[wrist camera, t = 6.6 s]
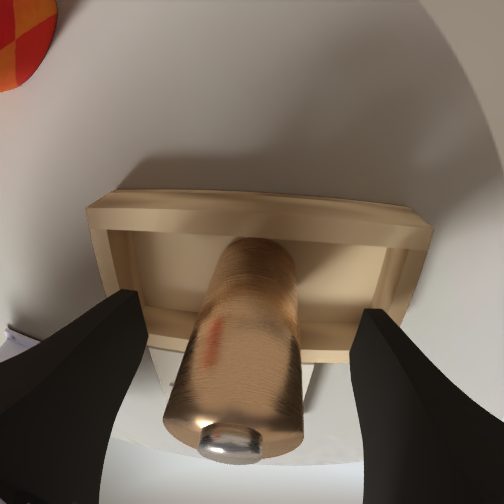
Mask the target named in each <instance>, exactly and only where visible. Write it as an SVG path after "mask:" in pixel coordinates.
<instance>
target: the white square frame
mask: <svg viewBox="0 0 504 504" xmlns="http://www.w3.org/2000/svg"><path fill="white" fill-rule="evenodd" d="M149 351H150V354H151V357H152V361H153V364H154V367H155V370H156V373H157V376H158V379H159V382H160V385H161V387H162V390H163V393H164V396H165V398H166V401H167V403H168V400H169V397H170V394H171V391H172V388H173V385H174V382H175V379H176V376H177V373H178V370H179V368H180V365H181V362H182V359H183V356H184V353H185V352H184V351H178V350H171V349H165V348H159V347H153V346H149ZM313 368H314V363H313V362H302V386H303V401H304V397H305V394H306V391H307V388H308V385H309V382H310V378H311V375H312V372H313Z"/></svg>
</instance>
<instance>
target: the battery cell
mask: <svg viewBox="0 0 504 504" xmlns="http://www.w3.org/2000/svg"><path fill="white" fill-rule="evenodd" d="M163 423H164V426H165V427H166V429H167V430H168V431H169V433H170V434H172V435H173V436H174V437H175V438H176V439H178V440H179V441H181V442H183V443H184V444H186V445H188V446H190V447H192V448H195V449H197V450H198V452H199V453H200V454H201V455H202V456H204V457H206V458H208V459H210V460H213V461H216V462H220V463H226V464H233V465H246V464H253V463H256V462H259V461H260V460H261V459H264V458H271V457H276V456H280V455H283V454H286V453H288V452H290V451H292V450H294V449H296V448H297V447H298V446H299V445H300V444H301V443H302V441H303V438H304V419H303V386H302V362H301V343H300V326H299V310H298V296H297V283H296V271H295V265H294V262H293V259H292V257H291V256H290V254H289V253H288V252H287V251H286V250H285V249H284V248H283V247H282V246H280V245H279V244H277V243H276V242H274V241H271V240H269V239H265V238H254V237H250V238H244V239H240V240H238V241H235V242H234V243H232V244H230V245H229V246H228V247H226V248H225V249H224V251H223V252H222V253H221V255H220V257H219V259H218V262H217V264H216V267H215V270H214V272H213V275H212V278H211V280H210V283H209V286H208V289H207V291H206V294H205V297H204V299H203V302H202V305H201V308H200V311H199V313H198V316H197V319H196V322H195V324H194V327H193V330H192V333H191V336H190V339H189V341H188V344H187V347H186V350H185V353H184V356H183V359H182V362H181V365H180V368H179V370H178V373H177V376H176V379H175V382H174V385H173V388H172V391H171V394H170V397H169V400H168V403H167V406H166V409H165V412H164V416H163Z"/></svg>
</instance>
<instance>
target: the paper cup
mask: <svg viewBox="0 0 504 504" xmlns="http://www.w3.org/2000/svg"><path fill="white" fill-rule="evenodd" d="M56 23H57V4H56V1H55V0H0V92H4V91H7V90H11V89H14V88H17V87H19V86H20V85H22V84H23V83H25V82H26V81H27V80H28V79H29V78H30V77H31V76H32V74H33V73H34V72H35V71H36V69H37V68H38V67H39V65H40V63H41V62H42V60H43V58H44V56H45V55H46V53H47V50H48V48H49V46H50V44H51V41H52V38H53V35H54V32H55V28H56Z"/></svg>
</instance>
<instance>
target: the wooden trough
mask: <svg viewBox="0 0 504 504" xmlns="http://www.w3.org/2000/svg"><path fill="white" fill-rule="evenodd" d="M86 213H87V219H88V224H89V229H90V234H91V239H92V244H93V248H94V252H95V257H96V261H97V265H98V269H99V273H100V276H101V280H102V284H103V287H104V291H105V294H106V298H108V297H109V296H111V295H112V294H114V293H115V292H117V291H119V290H121V289H128V290H135V291H138V295H139V299H140V304H141V308H142V312H143V316H144V320H145V324H146V327H147V331H148V335H149V337H148V340H147V344H146V345H148V346H153V347H159V348H165V349H171V350H178V351H184V352H185V350H186V347H187V344H188V341H189V339H190V336H191V333H192V330H193V327H194V324H195V322H196V319H197V316H198V313H199V311H200V308H201V305H202V302H203V299H204V297H205V294H206V291H207V289H208V286H209V283H210V280H211V278H212V275H213V272H214V270H215V267H216V264H217V262H218V259H219V257H220V255H221V253H222V252H223V251H224V249H225V248H226V247H228V246H229V245H230V244H232V243H234V242H235V241H238V240H240V239H244V238H250V237H254V238H265V239H269V240H271V241H274V242H276V243H277V244H279V245H280V246H282V247H283V248H284V249H285V250H286V251H287V252H288V253H289V254H290V256H291V257H292V259H293V262H294V265H295V271H296V283H297V296H298V310H299V326H300V343H301V362H313V363H350V360H349V351H350V349H351V346H352V343H353V341H354V338H355V335H356V332H357V329H358V326H359V323H360V320H361V317H362V314H363V311H364V308H374V309H383V310H384V311H385V312H386V313H387V314H388V315H389V316H390V317H391V318H392V320H393V321H394V322H395V323H396V324H397V325H398V326H399V327H400V325H401V323H402V320H403V318H404V316H405V313H406V311H407V308H408V306H409V303H410V301H411V298H412V295H413V293H414V290H415V287H416V285H417V282H418V279H419V276H420V273H421V270H422V267H423V264H424V261H425V258H426V255H427V252H428V249H429V245H430V242H431V238H432V235H433V231H434V229H433V228H432V227H431V226H430V225H428V224H427V223H426V222H425V221H424V220H423V219H422V218H421V217H420V216H419V215H418V214H416V213H415V212H414V211H413V210H412V209H411V208H410V207H404V206H397V205H390V204H382V203H374V202H365V201H356V200H347V199H337V198H327V197H316V196H304V195H291V194H277V193H261V192H242V191H218V190H175V189H135V190H114V191H112V192H110V193H109V194H107V195H105V196H104V197H102V198H101V199H99V200H97V201H96V202H94V203H93V204H91V205H90V206H88V207H87V208H86Z"/></svg>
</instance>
